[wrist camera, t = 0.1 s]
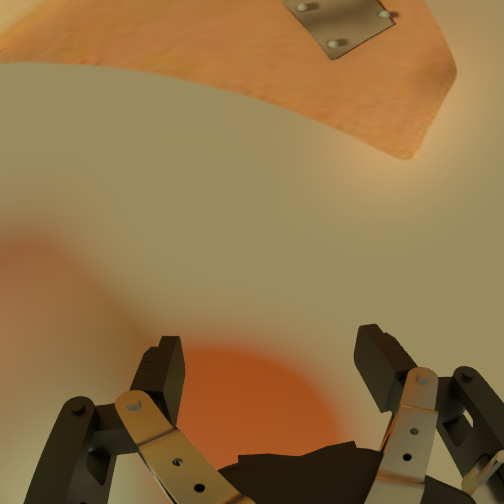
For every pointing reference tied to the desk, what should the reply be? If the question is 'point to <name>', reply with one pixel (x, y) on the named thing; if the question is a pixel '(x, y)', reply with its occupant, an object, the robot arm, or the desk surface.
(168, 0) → the desk surface
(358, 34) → the pin plate
